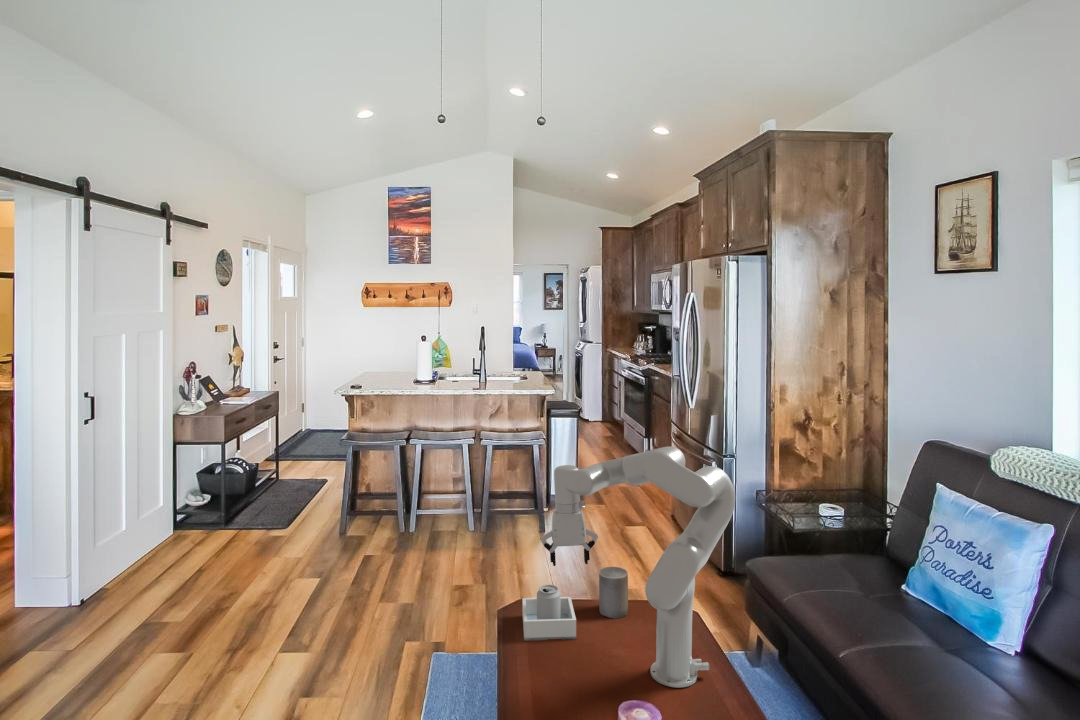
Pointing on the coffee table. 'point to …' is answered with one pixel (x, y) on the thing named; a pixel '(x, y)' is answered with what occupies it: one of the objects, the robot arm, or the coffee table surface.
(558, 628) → the walled box
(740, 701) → the coffee table surface
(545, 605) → the can
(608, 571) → the pillar candle
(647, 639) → the coffee table surface
